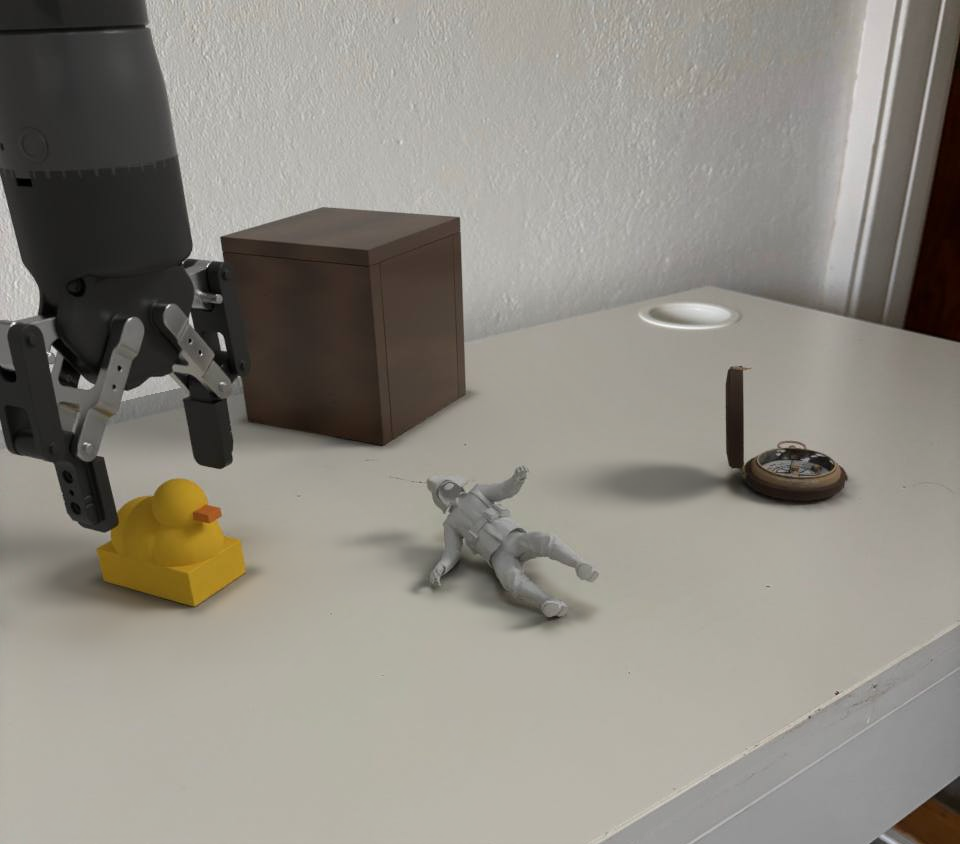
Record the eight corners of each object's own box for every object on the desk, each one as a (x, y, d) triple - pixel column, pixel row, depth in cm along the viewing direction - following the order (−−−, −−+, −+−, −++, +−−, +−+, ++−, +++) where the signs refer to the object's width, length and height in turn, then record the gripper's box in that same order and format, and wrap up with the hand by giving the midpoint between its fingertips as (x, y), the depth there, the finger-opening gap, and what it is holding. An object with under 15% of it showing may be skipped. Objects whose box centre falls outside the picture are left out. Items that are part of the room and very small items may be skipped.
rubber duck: (103, 581, 56) (78, 480, 53) (158, 549, 59) (137, 452, 56) (201, 609, 53) (181, 504, 50) (253, 574, 56) (237, 473, 53)
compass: (850, 507, 61) (872, 387, 57) (715, 499, 63) (727, 382, 59) (839, 456, 68) (857, 346, 64) (716, 450, 69) (727, 342, 66)
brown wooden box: (247, 420, 76) (219, 236, 70) (339, 374, 85) (322, 206, 78) (383, 445, 72) (368, 250, 65) (466, 393, 80) (460, 216, 74)
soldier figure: (504, 658, 50) (360, 516, 55) (540, 676, 54) (403, 542, 60) (611, 537, 49) (454, 403, 54) (639, 564, 53) (491, 438, 59)
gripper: (140, 130, 52) (196, 438, 60) (-115, 170, 41) (-3, 537, 50) (259, 134, 48) (300, 458, 57) (16, 178, 38) (112, 567, 47)
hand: (159, 494), depth 53 cm, fingers open, 8 cm apart
